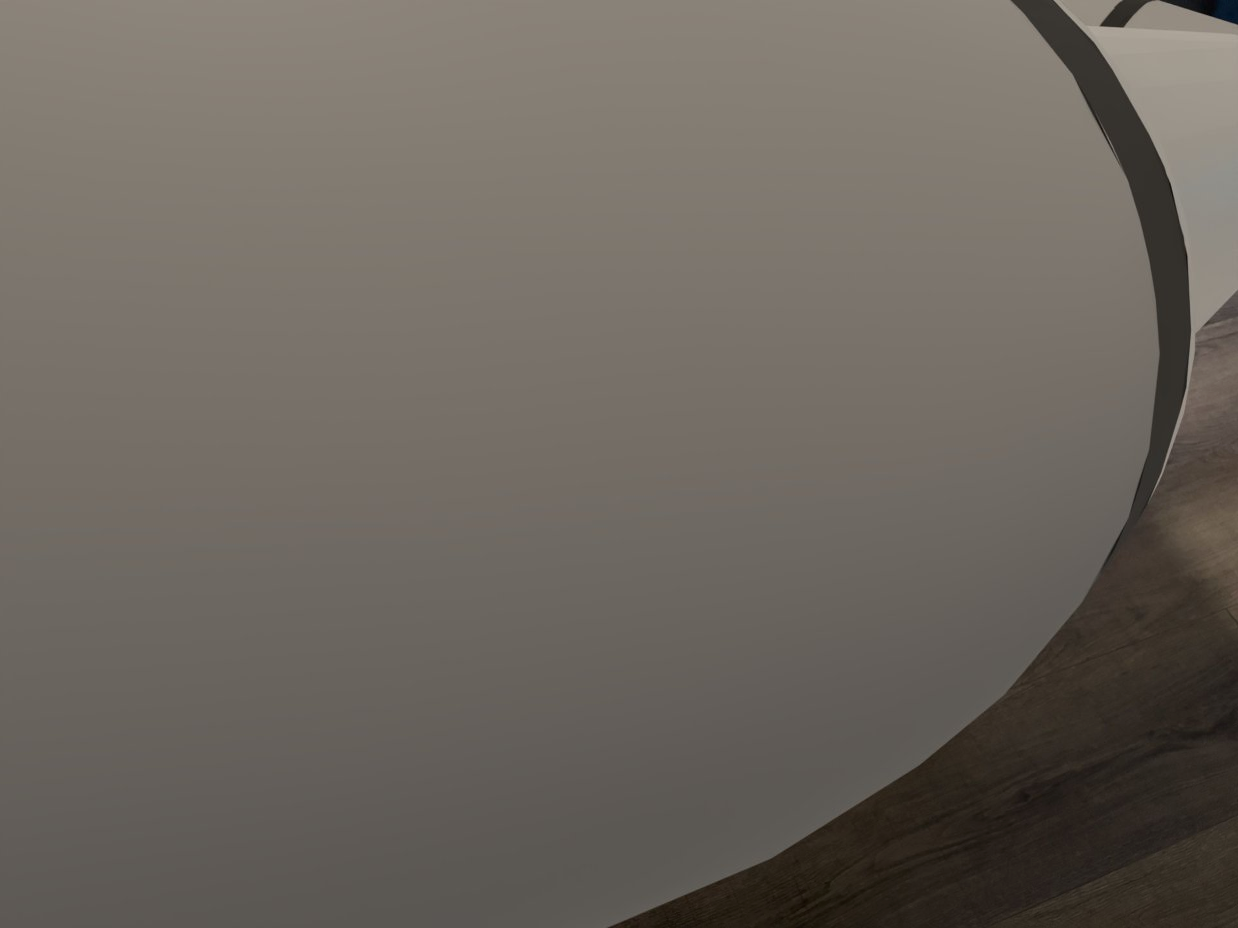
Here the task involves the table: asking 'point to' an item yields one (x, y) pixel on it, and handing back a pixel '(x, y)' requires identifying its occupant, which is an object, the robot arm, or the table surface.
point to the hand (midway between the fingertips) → (248, 185)
